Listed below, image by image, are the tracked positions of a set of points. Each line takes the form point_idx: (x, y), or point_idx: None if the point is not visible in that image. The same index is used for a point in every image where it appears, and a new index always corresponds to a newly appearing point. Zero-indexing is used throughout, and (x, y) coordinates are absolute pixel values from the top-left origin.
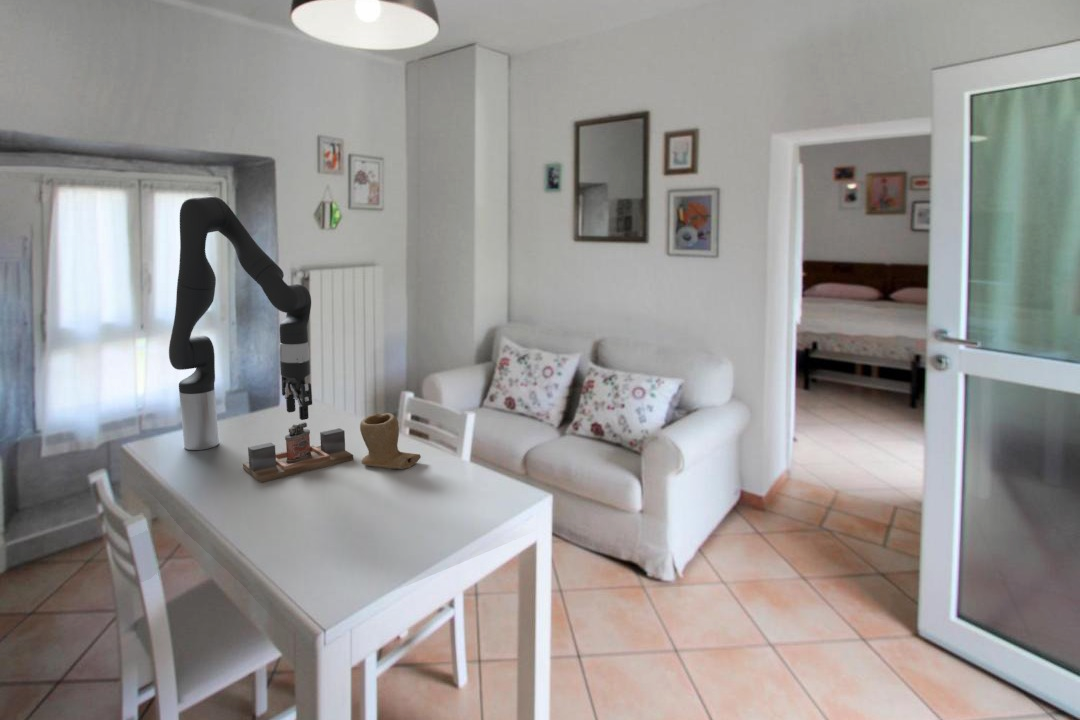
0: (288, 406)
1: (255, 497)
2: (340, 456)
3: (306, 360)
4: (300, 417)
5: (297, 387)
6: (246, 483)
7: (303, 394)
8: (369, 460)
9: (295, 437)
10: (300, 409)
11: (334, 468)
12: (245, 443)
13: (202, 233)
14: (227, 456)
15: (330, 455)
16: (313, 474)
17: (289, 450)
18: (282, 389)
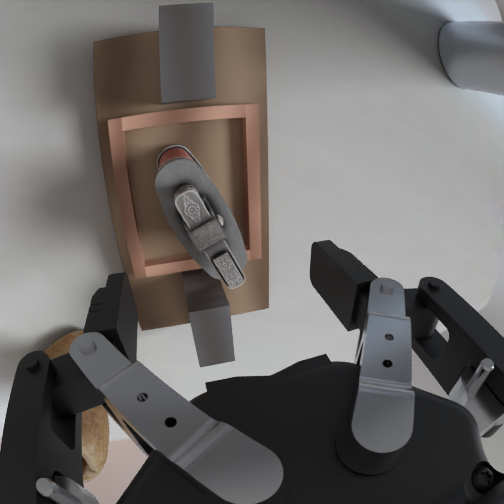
0: (331, 264)
1: (11, 29)
2: (144, 301)
3: None
4: (108, 280)
5: (136, 500)
6: (121, 10)
7: (5, 446)
8: (63, 347)
9: (160, 202)
10: (98, 320)
11: (97, 264)
12: (429, 126)
13: None
14: (377, 47)
15: (166, 280)
16: (76, 201)
17: (163, 160)
18: (457, 303)
